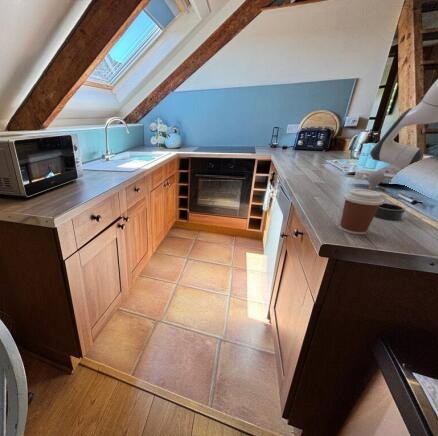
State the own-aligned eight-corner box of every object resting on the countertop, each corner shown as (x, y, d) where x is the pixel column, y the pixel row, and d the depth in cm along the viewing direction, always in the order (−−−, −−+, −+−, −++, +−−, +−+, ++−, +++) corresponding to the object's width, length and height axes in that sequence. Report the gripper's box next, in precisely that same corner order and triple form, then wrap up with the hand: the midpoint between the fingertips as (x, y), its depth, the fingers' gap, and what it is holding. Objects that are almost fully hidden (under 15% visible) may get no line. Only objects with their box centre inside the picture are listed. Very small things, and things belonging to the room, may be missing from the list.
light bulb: (372, 191, 110) (380, 169, 107) (381, 195, 105) (390, 172, 102) (359, 191, 111) (366, 169, 107) (367, 194, 106) (375, 172, 102)
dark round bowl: (393, 213, 86) (397, 204, 85) (405, 221, 79) (409, 211, 78) (366, 210, 89) (369, 201, 87) (375, 218, 82) (379, 208, 81)
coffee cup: (378, 232, 72) (393, 193, 68) (361, 238, 69) (376, 198, 64) (344, 221, 80) (356, 186, 75) (327, 227, 76) (338, 190, 72)
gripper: (362, 166, 122) (351, 169, 115) (420, 172, 107) (412, 176, 100) (358, 178, 125) (347, 182, 118) (414, 186, 109) (406, 191, 102)
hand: (377, 180), depth 108 cm, fingers open, 8 cm apart
